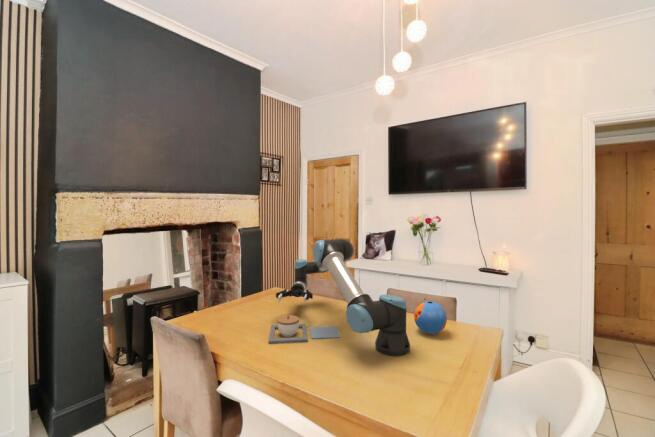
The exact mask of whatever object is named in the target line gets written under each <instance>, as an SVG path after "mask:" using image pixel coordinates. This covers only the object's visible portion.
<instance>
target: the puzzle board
mask: <svg viewBox="0 0 655 437" xmlns="http://www.w3.org/2000/svg"><path fill="white" fill-rule="evenodd" d="M298 329H302V336H300V337H299V336H297V337H295V336H294V337H293V336H292V337H277V338H275V332H276V330H279V329H278V324H271V325H270V332H269V334H268V335H269V336H268V342H267V343H268V345H272V344H292V343H293V344H294V343H308V342H309V339H308V329H307V323H299V328H298Z"/></svg>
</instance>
